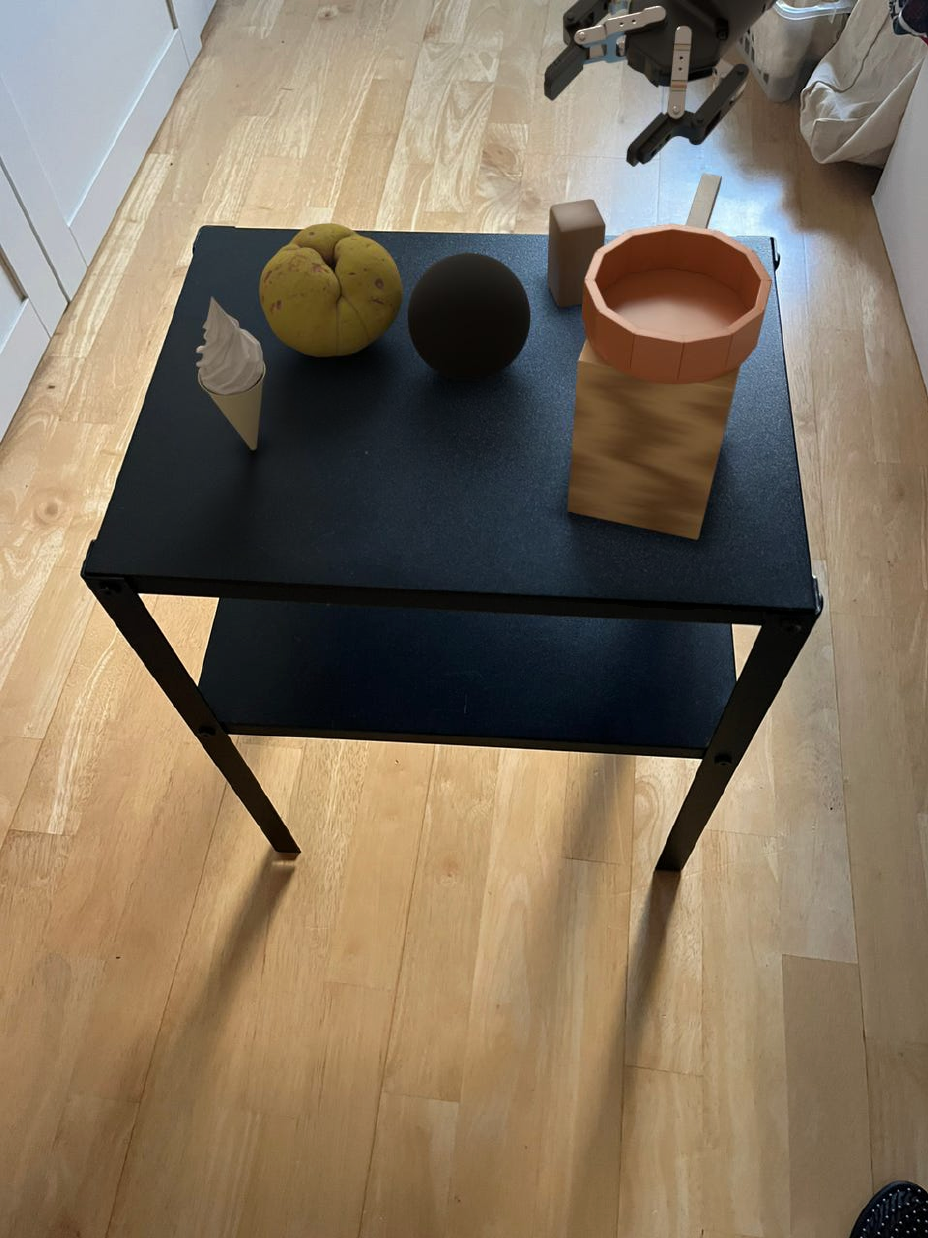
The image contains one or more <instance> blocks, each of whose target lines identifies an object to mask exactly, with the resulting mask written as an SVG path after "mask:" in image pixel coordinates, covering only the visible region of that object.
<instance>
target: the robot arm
mask: <svg viewBox="0 0 928 1238" xmlns="http://www.w3.org/2000/svg"><path fill="white" fill-rule="evenodd" d="M777 2H778V0H577V1H576V2H574V4H573V5H572V6H570V8H568V9H567V10H566V11H565V12H564V13H563V15H562V41H563V43H564V44H565V45H566V47H565V48H564V49H563V50H562V51H561V52H560V53H559V54H558V56H556V58H554V59H553V61H552V62H551V63H549V65H548V66H547V67H546V69H545V71H544V74H543V75H544V81H543V95H544V96H545V97H546V98H547V99H549V100H550V101H551V102H553V101H555V100H556V99H557V98H558V97H559V95H561V93H563V92H564V91H565V89H566V88H567V87H568V86H569V85H570V84H571V83H572V82H573V81H574V80H575V79H576V78H577V77H578V76H579V75H580V73H582V71H584V66H585V65H590V64H594V63H599V62H605V63H607V64H614V63H618V62H623V61H627V64H626V65H627V66H628V67H629V68H631V69H632V70H633V71H635V72H637V73H640V74H642V75H644V77H645V78H646V79H647V80H648V82H649V83H650V84H651V85H653V87H656V89H658V88H659V87H662V88H668V95H667V106H666V112H665V113H664V112H662V111H660V112H659V113H658V114H657V116H655V118H654V119H652V121H651V122H650V123H649V124H648V125H647V126H646V127H645V128H644V129H643V130H642V131H641V132H640V133H639V134H638V136H637V137H636V138H635V139H633V141H631V143H630V144H629V146H628V147H627V148H626V157H625V158H626V159H625V161H626V163H627V164H629V165H630V166H631V167H633V168H635V167H636V166H637V165H639V163H640V164H642V165H646V164H648V163H650V162H651V161H652V160H653V159H654V158H655V156H657V155H658V153H659V152H660V151H661V150H662V149H663V148H664V147H665V146H666V145H667V144H668V143H669V142H670V141H671V140H672V139H673V138H677V137H681V138H684V139H688V142H689V143H690V144H691V145H693V146H701V145H702V144H703V143H704V142H705V140H706V139H707V138H708V137H709V135H711V133H713V131H714V130H715V129H716V127H717V126H718V125H719V124H720V123H721V121H722V120H723V119H724V118H725V117H726V116H727V114H729V112H730V111H731V110H732V108H733V107H734V106H735V105H736V104H737V103H738V101H739V100H740V99H741V98H742V97H743V95H744V93H745V89H746V85H747V82H748V78H749V77H748V76H749V74H750V73H749V72H750V69H749V66H748V65H747V64H746V63H745V64H744V63H737V64H735V65H733V64H731V63H729V62H728V61H727V60H725V59H723V56H725V54H727V53H728V52H729V51H730V50H731V49H732V48H733V47H734V46H735V44H737V42H739V40H741V38H743V36H744V35H745V34H747V32H748V31H749V30H750V29H751V28H752V27H753V26H754V25H755V24H756V23H757V21H759V19H760V18H761V17H762V16H763V15H764V14H765V13H766V12H768V11H770V10H771V9H772V8H773V7H774V6H775V4H776V3H777ZM620 10H627V12H628V13H627V15H622V16H617V17H613V18H609V19H607V20H605V21H604V22H603V24H601V25H598V24H599V23H600V22H601V21H602V20H604V19H605V18H606V16H608V15H610V16H615V15H616V14H617V13H618V12H619V11H620ZM623 36H625V37H624V41H621V42H617V40H618V39H620V37H623ZM712 76H713V78H714V81H713V85H712V92H711V94H710V95H709V96H708V97H707V98H706V99H705V100H704V101H703V102H702V104H701V105H700V106H699V107H698V108H697V110H696V111H695V112H692V111H689V110H686V109H685V108H686V99H687V98H686V97H687V89H688V83H692V82H697V81H701V80H705V79H708V78H710V77H712Z"/></svg>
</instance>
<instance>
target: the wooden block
mask: <svg viewBox="0 0 928 1238" xmlns="http://www.w3.org/2000/svg"><path fill="white" fill-rule="evenodd" d="M548 215H549V216H548V243H547V271H546V283H547V285H548V287H549V290H550V292H551V295H552V297H553V300H554V302H555V305H556V307H557V308H560V309H562V308H569V307H573V306H574V307H575V306H580V305H582V302H583V288H584V279H585V276H586V274H587V271H588V269H589V266H590V264H591V261H592V259H593V256H594V254H595V252H596V250H598V249H600V248H601V247H603V246H604V245H605V241H606V227H607V225H606V222H605V221H604V218H603V217H602V214H601V212H600V210H599V207H598V206H597V204H596V202H595V200H594V199H592V198H589V199H582V200H577V201H570V202H563V203H557V204H553V205H551V206H550V208H549V214H548Z"/></svg>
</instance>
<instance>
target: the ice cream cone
mask: <svg viewBox="0 0 928 1238" xmlns="http://www.w3.org/2000/svg"><path fill="white" fill-rule="evenodd" d="M209 301H210V302H209V308H208V313H207V318H206V321H205V323H204V324H203V326H202V329H204V330H206V331H205V332H204V334H203V339H204V340H205V344H204V345H200V346H198V347H197V348H196V354H202V358H201V360H199V361H197V362H196V367H198V368H199V369H198V374H197V380H198V383H199V385H200V386H201V388H202V389H203V390H204V391H205V392H206V393H207V394H208V395H209V397H210V398H211V399H212V400H213V402H214V403H215V404H216V406H217V407H218V408H219V410H220V411H221V412H222V413H223V415H224V416H225V418H227V420H228V421H229V422H230V425H232V427H233V428H234V429H235V430H236V432H237V433H238V435H239V436H240V438H241V439H243V440H244V443H246V445H247V447H249V448H250V450H251V451H256V450H257V448H258V439H259V438H258V437H259V426H260V417H261V404H262V393H263V384H264V377H265V375H266V365H265V362H264V357H263V356H264V354H263V350H262V346H261V343H260V341H259V340H257V339H256V338H255V336H253V335H252V334H251V333H250V332H249V331H248V330H246V329H244V328H240V324H239V321H238V320H237V319H235V318H234V317H232V316H231V315H229V314H227V312H226V311H225V310H224V309H223V307H221V306H220V304H219V303H218V302H217V301H216V300H215V298H214V296H210V300H209Z"/></svg>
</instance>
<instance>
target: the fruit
mask: <svg viewBox="0 0 928 1238" xmlns="http://www.w3.org/2000/svg"><path fill="white" fill-rule="evenodd" d="M258 288H259V292H258V293H259V300H260V305H261V308H262V311H263V313H264V316H265V318H266V320H267V323H268V325H269V327H270V329H271V331H272V332H273V334H274V335H275V336H276V337H277V338H278V339H279V340H280V341H281V342H282V343H283V344H285V345H287V347H289V348H291V349H292V350H295V351H297V352H299V353H302V354H304V355H307V356H312V357H315V358H329V357H343V356H349V355H353V354H356V353H358V352H360V351H362V350H363V349H365V348H367V347H368V346H370V345H371V344H373V343H374V342H376V341H377V340H378V339H379V338H381V337H382V336H383V335H384V334H385V333H386V332H387V331H389V329H390V328H391V326H392V325H393V324H394V322H395V320H396V319H397V317H398V316H399V313H400V311H401V307H402V304H403V297H404V289H403V283H402V279H401V275H400V271H399V269H398V267H397V263H396V262H395V260H394V259H393V257H392V255H391V254H390V253H389V252H388V250H387V249H385V247H383V246H382V245H381V244H380V243H379V242H377V241H375V240H373V239H371V238H369V237H366V236H362V235H361V234H358V233H357V232H356V231H354V230H353V229H351V228H350V227H347V226H345V225H341V224H338V223H333V222H325V223H324V222H323V223H317V224H312V225H309V226H307V227H305V228H303V229H301V230H300V231H299V232H298V233H297V234H296V235H294V237H293V238H292V239H291V240H290V242H289V243H288V244H286V245H285V246H282V247H281V248H280V249H279V250H278V251H277V252H276V254H275V255H274V256H273V257H271V259H270V260H269V261H268V262H267V264H266V265H265V266H264V268H263V270H262V273H261V276H260V280H259V287H258Z"/></svg>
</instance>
